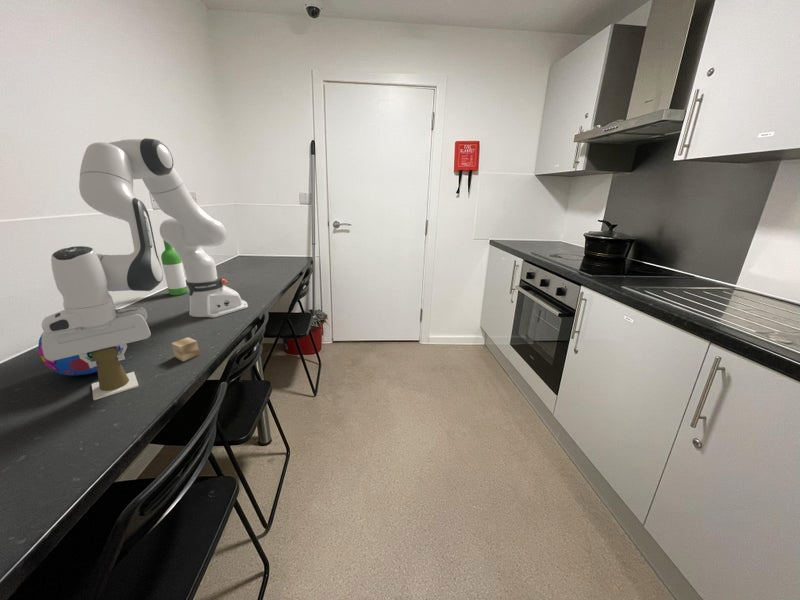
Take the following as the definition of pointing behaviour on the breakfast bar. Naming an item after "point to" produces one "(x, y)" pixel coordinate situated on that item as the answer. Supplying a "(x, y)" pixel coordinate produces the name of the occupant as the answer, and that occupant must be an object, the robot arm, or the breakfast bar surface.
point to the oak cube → (185, 349)
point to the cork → (109, 369)
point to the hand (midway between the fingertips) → (108, 362)
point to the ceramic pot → (69, 363)
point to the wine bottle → (173, 271)
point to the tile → (102, 393)
